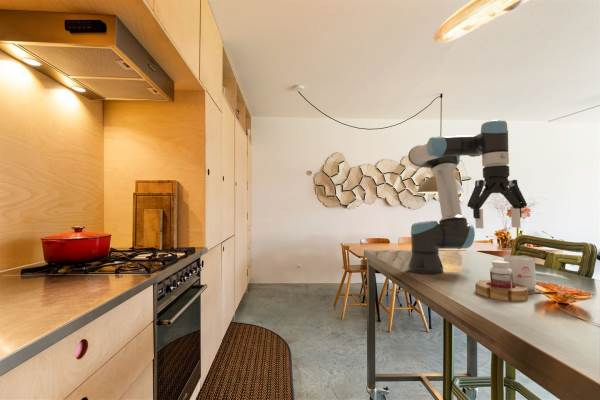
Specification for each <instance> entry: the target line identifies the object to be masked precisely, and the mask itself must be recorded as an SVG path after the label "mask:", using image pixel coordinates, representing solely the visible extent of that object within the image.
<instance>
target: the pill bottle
mask: <svg viewBox="0 0 600 400" xmlns="http://www.w3.org/2000/svg"><path fill="white" fill-rule="evenodd" d="M491 265H492V267H491V268H490V269H489V273H490V274H489V276H490V279H489V280H491V286H492V287H497V288H505V289H508V288H513V277H512V270H511V269H509V268H508V267H509V262H506V261H504V260H492V262H491Z"/></svg>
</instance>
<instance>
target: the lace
mask: <svg viewBox="0 0 600 400" xmlns="http://www.w3.org/2000/svg"><path fill="white" fill-rule="evenodd" d="M527 295H541V292H539V291H538V290H537V291H527Z"/></svg>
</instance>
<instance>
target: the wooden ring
mask: <svg viewBox="0 0 600 400" xmlns="http://www.w3.org/2000/svg"><path fill="white" fill-rule="evenodd" d="M474 285H475V293H476V294H478V295H481V296H483V297H486V298H490V299H493V300H494V299H495V300H501V301H507V302H508V301H512V302H516V301H517V302H518V301H519V302H521V301H528V294H527V292H528V291H527V287H525V286H523V285H520V284H516V283H513V288H508V289H505V288H497V287H492V286H491V279H484V280H482V279H481V280H480V279H479V280H476V282H475V284H474Z"/></svg>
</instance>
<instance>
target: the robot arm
mask: <svg viewBox="0 0 600 400" xmlns="http://www.w3.org/2000/svg"><path fill="white" fill-rule="evenodd" d="M407 156H408V161H409V163H411V165H413V166H415V167H418V168H430V169H431V170H430V171H431V173H432V174H434V175H435V181H436V187H437V194H438V199H439V207H440V212H441V213H440V214H441V219H440V220H439V221H437V220H428V221H420V222H419V221H418V222H415V223H413V224H412V225H411V226H410V237H411V238H410V239H411V241H410V243H411V256H410V259H409V261H408V265H407V266H408V267H407V269H408V270H407V271H408V272H412V273H414V274H422V275H441V274H443V273H444V266H443V264H442V261H441V258H440V256H439V250H443V249H446V250H449V249H450V250H451V249H453V250H454V249H457V250H463V249H470V248H471V247H472V245H473V243H474V241H475V236H476V235H475V233H476V232H475V229H484V209H483V208H482V207H483V205H484V204H485V202H486V201H487V200H488V198H489V197H490V196H491V195H492V194H501V195H502V196H503V197H504V198H505V199H506V201H507V202H508V203H509V204H510V205H511V207H512V208H510V213H511V214H510V215H511V216H510V217H511V228H515V229H516V228H517V229H519V228H521V218H522V209H524V208H525V207H527V206H528V203H527V202H526V201H527V200H526V199H525V197H524V196H523V193H522V191H521V189H520V187H519V185H518V180H517V179H510V180H509V177H510V166H509V163H510V157H509V130H508V123H507V121H506V120H503V119H493V120H488V121H486V122H483V123H482V124H481V127H480V133H478V134H475V135H474V134H472V135H471V134H470V135H454V136H453V135H451V136H450V135H449V136H448V135H447V136H445V135H444V136H441V135H439V136H432V137H430V138H429V139H428V141H427V143H425V144H422V145H421V144H419V145H416V146H414V147H412V148H411V149H410V150H409V152H408V154H407ZM461 156H469V157H471V158H472V157H473V158H474V157H480V156H481V159H482V160H481V165H482V178H483V179H477V180H475V181H474V188H473V190H472V193H471V195H470V197H469V199H468V202H467V205H466V206H467V208H470V209H472V213H473V219H475V222H474V223H475V225H474V226H475V228H474V226H473V224H472V223H470V222H468V220H467V218H466V217H465V216H463V213H462V209H461V208H462V207H461V203H460V195H459V192H458V186H457V180H456V176H455V175H456V174H455V170H456V169H457V168H458V165H459V164H460V161H461V159H460V157H461Z"/></svg>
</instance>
